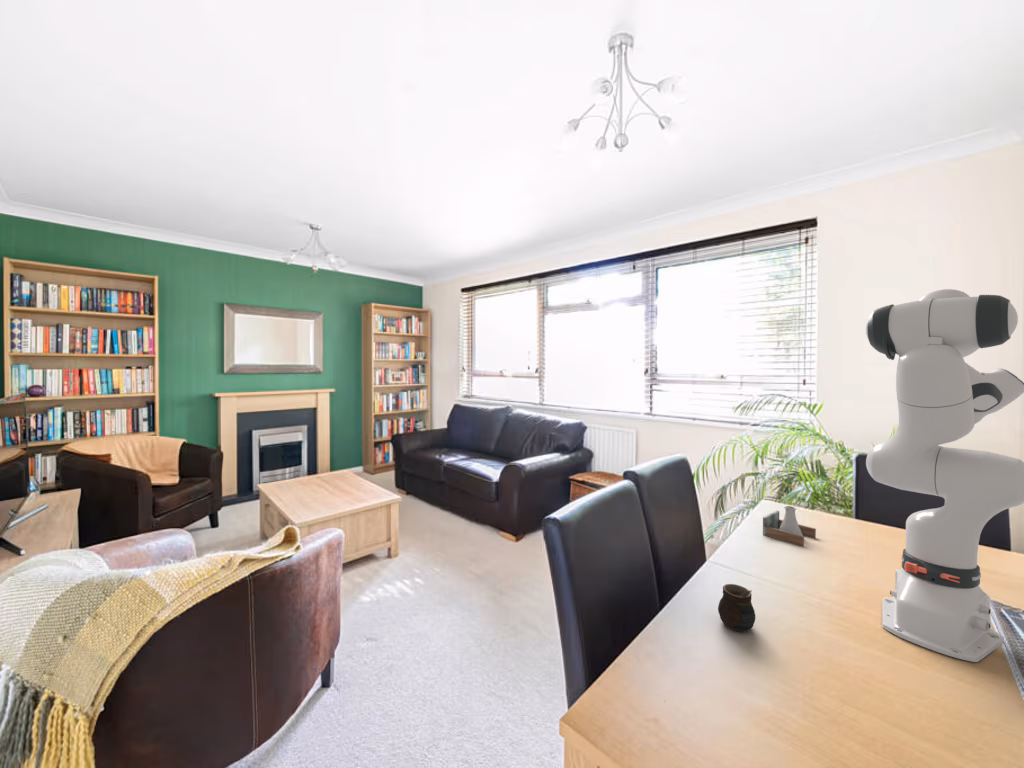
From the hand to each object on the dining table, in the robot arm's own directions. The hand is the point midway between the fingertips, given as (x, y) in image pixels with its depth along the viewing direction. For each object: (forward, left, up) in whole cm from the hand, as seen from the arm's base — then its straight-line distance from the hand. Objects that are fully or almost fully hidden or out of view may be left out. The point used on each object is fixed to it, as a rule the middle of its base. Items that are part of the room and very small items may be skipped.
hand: (902, 446), depth 123 cm
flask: (-10, +26, -34) cm, 44 cm away
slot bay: (-10, +26, -33) cm, 44 cm away
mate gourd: (-76, +13, -34) cm, 84 cm away
